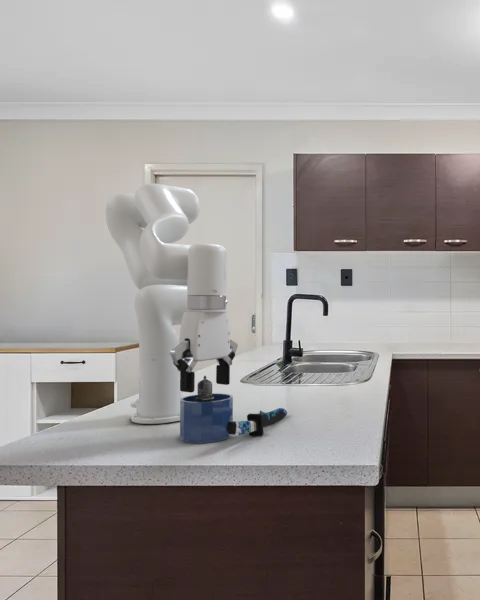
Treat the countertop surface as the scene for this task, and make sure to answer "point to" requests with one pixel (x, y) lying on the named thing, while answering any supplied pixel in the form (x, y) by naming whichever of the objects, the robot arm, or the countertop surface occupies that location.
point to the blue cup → (205, 418)
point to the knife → (255, 423)
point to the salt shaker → (205, 391)
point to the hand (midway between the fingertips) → (205, 387)
